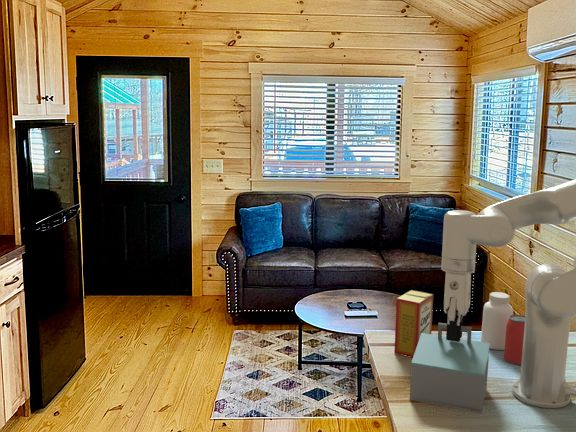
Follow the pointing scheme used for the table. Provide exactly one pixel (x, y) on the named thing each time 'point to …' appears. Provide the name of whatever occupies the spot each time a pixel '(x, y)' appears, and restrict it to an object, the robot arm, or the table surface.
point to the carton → (448, 388)
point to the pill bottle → (496, 320)
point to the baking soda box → (412, 320)
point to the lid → (452, 353)
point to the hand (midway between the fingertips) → (454, 338)
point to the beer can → (514, 339)
